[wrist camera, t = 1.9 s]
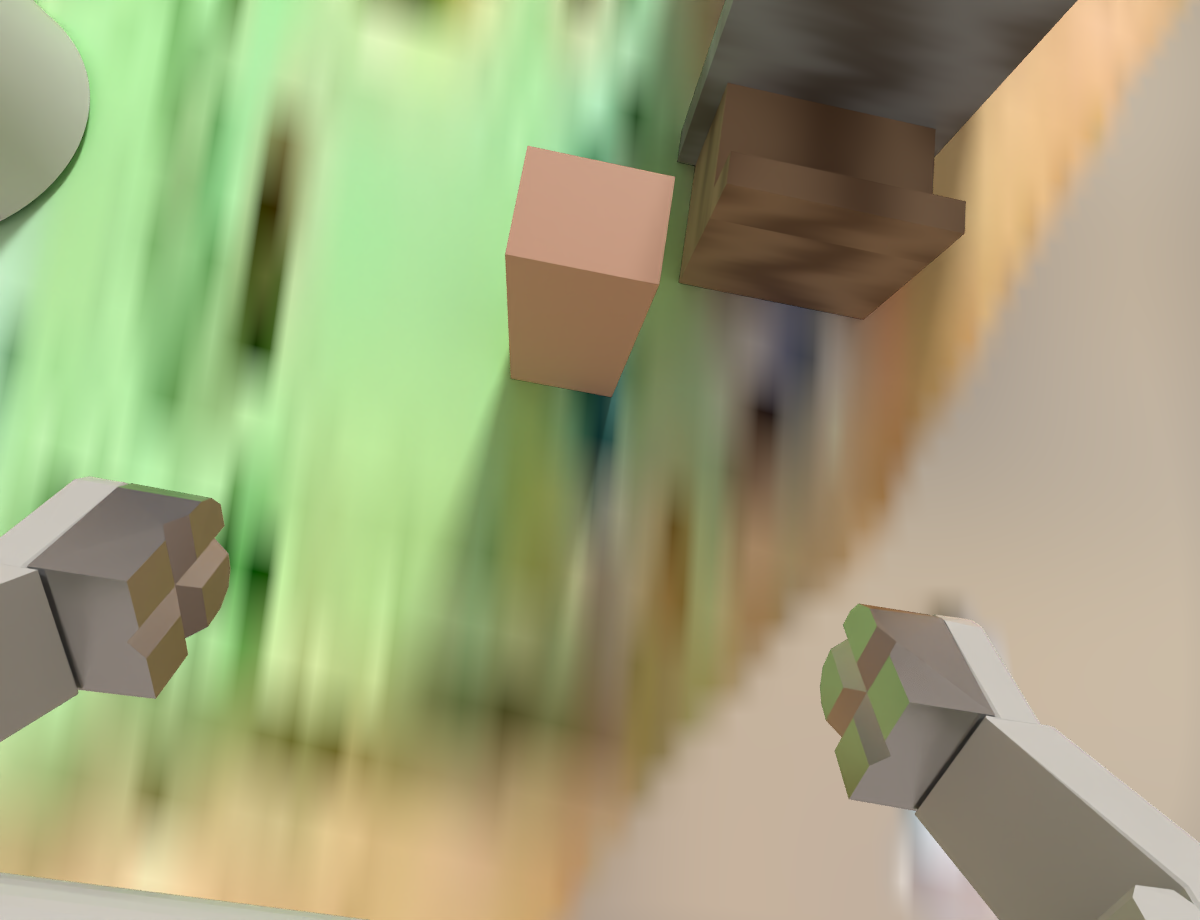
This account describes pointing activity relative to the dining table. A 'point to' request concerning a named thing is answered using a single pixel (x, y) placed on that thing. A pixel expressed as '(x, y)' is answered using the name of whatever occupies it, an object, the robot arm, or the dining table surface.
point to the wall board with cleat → (838, 140)
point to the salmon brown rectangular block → (582, 267)
